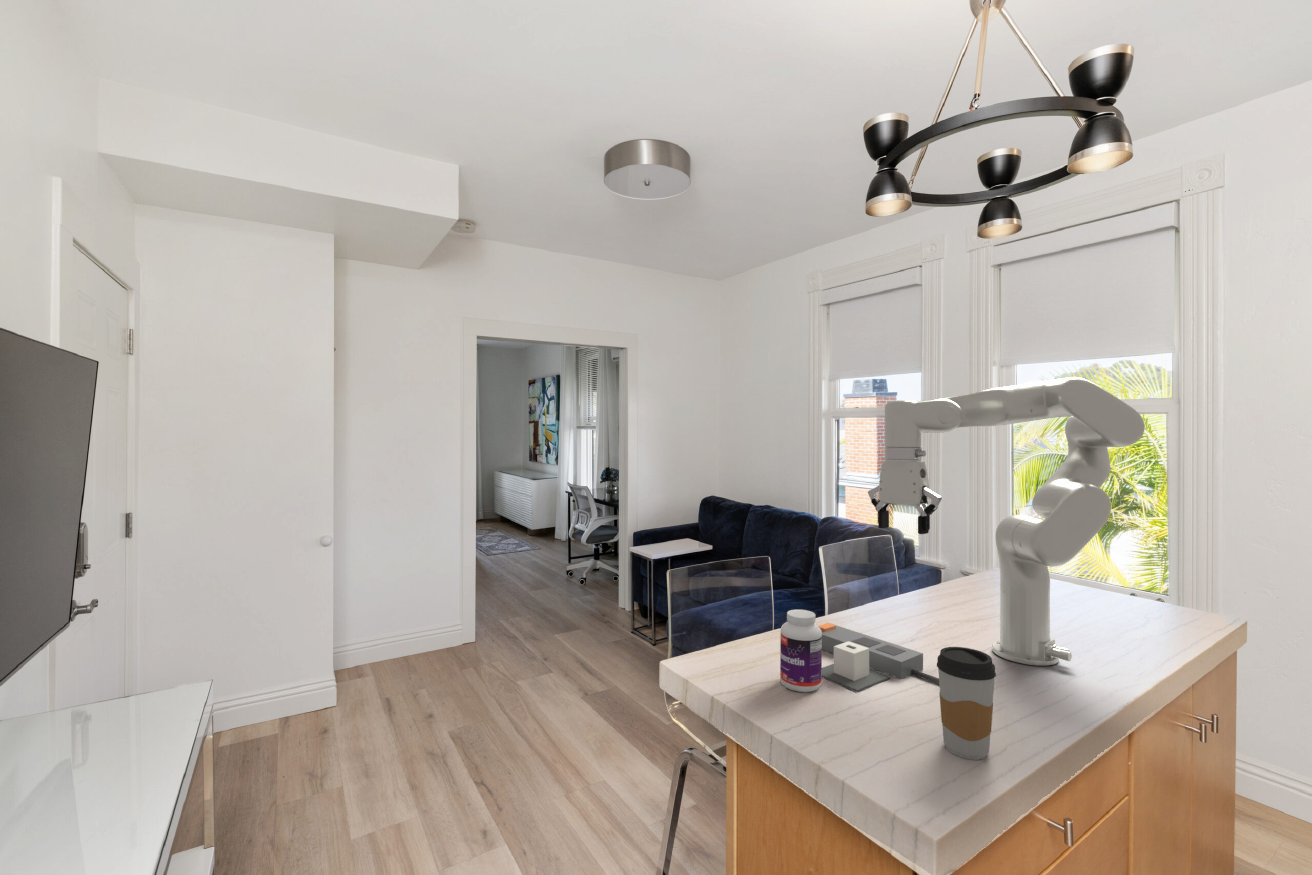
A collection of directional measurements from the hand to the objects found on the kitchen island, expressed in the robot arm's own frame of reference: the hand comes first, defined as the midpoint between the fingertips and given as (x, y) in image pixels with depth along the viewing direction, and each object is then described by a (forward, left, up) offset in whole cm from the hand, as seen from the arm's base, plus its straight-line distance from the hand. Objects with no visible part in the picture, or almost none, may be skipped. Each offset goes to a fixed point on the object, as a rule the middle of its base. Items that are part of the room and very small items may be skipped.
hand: (902, 530), depth 130 cm
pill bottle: (+3, +31, -28) cm, 42 cm away
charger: (0, +19, -28) cm, 34 cm away
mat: (0, +19, -28) cm, 34 cm away
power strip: (-1, +8, -28) cm, 29 cm away
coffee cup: (-28, +28, -28) cm, 49 cm away
